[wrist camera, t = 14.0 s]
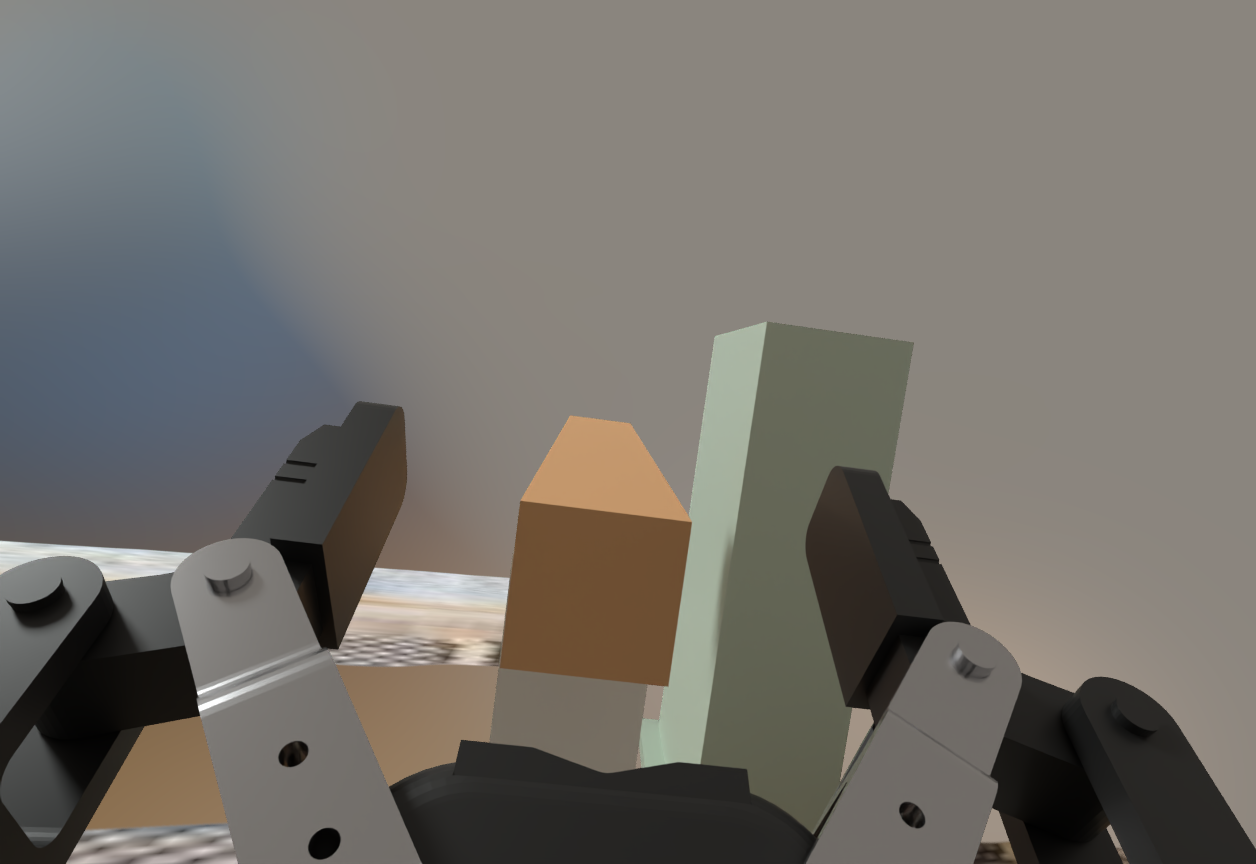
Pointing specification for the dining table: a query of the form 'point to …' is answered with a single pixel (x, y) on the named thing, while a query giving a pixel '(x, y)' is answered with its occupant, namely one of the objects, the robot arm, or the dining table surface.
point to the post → (570, 716)
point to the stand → (771, 557)
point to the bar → (597, 561)
